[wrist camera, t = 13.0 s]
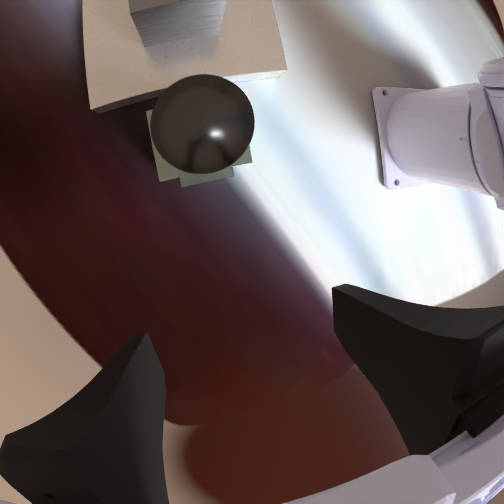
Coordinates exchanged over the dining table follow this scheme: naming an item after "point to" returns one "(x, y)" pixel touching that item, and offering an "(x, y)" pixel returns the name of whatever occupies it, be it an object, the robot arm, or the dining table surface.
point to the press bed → (176, 61)
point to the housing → (175, 19)
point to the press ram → (202, 124)
